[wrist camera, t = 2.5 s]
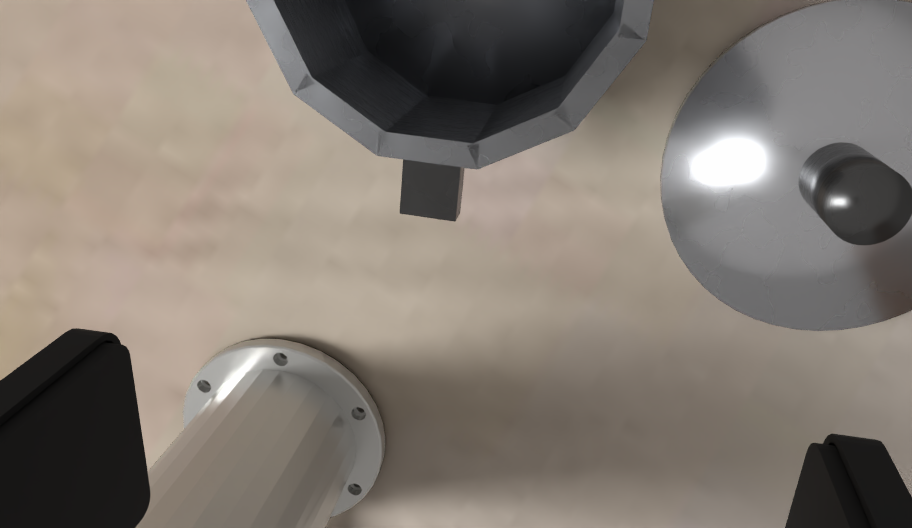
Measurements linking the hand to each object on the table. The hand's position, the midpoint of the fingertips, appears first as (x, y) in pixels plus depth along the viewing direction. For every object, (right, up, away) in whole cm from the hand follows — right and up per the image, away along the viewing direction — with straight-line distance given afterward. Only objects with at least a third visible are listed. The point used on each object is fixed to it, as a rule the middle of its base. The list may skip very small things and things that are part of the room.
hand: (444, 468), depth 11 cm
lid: (+18, +7, +26) cm, 33 cm away
